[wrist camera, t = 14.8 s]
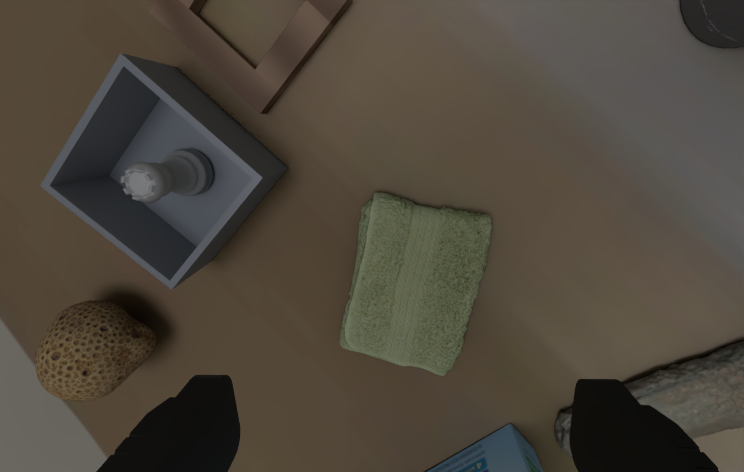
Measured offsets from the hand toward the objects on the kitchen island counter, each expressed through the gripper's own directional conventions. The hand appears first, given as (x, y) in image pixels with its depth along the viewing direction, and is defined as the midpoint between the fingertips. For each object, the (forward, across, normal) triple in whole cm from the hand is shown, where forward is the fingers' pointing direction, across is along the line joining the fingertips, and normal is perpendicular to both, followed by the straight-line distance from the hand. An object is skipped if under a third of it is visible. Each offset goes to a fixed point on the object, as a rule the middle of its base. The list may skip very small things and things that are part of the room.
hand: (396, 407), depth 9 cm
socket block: (+28, +12, -16) cm, 35 cm away
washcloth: (+29, -1, +9) cm, 30 cm away
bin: (+28, +20, -3) cm, 34 cm away
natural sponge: (+28, +30, +13) cm, 44 cm away
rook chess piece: (+28, +20, -3) cm, 34 cm away
